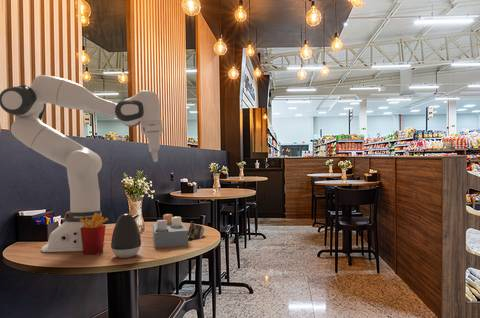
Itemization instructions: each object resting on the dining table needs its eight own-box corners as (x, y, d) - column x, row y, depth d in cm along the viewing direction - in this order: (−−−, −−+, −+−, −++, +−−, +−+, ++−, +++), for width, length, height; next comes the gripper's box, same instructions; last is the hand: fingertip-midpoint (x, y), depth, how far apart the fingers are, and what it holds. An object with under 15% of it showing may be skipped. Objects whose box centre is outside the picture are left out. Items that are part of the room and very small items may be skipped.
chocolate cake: (203, 241, 143) (208, 219, 152) (188, 237, 142) (193, 215, 151) (198, 252, 150) (203, 230, 158) (183, 248, 148) (188, 226, 157)
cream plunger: (172, 230, 141) (172, 218, 141) (171, 228, 144) (171, 216, 144) (181, 229, 142) (181, 217, 142) (180, 227, 146) (180, 216, 146)
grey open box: (154, 248, 130) (154, 232, 130) (153, 236, 152) (153, 223, 152) (187, 245, 134) (187, 230, 134) (181, 234, 156) (181, 221, 156)
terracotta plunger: (163, 226, 148) (163, 215, 148) (163, 225, 152) (163, 214, 152) (172, 226, 149) (172, 215, 150) (172, 224, 153) (172, 213, 153)
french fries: (79, 255, 121) (79, 213, 122) (92, 249, 130) (92, 210, 130) (101, 255, 120) (101, 214, 120) (113, 249, 128) (113, 210, 129)
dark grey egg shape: (147, 254, 121) (147, 212, 121) (123, 261, 112) (122, 216, 112) (129, 250, 126) (129, 210, 127) (105, 257, 118) (104, 214, 118)
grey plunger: (157, 234, 132) (156, 221, 132) (156, 232, 136) (156, 220, 136) (167, 233, 133) (167, 221, 133) (166, 231, 137) (166, 219, 137)
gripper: (144, 132, 149) (147, 162, 149) (144, 127, 130) (148, 162, 130) (158, 131, 151) (161, 161, 151) (160, 125, 132) (164, 160, 132)
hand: (155, 161), depth 140 cm, fingers open, 8 cm apart
